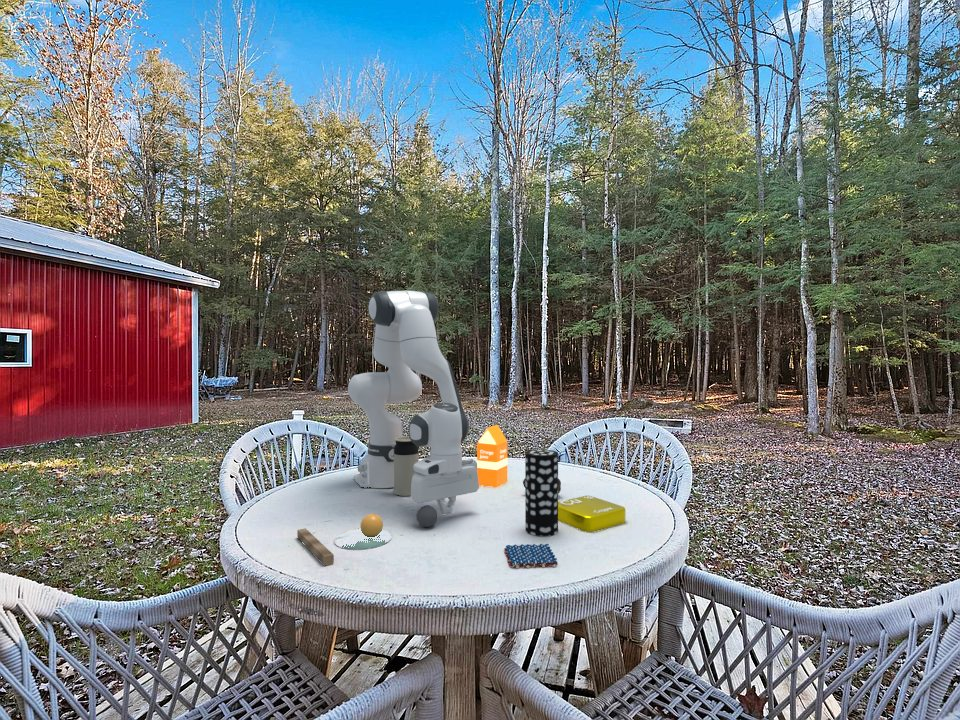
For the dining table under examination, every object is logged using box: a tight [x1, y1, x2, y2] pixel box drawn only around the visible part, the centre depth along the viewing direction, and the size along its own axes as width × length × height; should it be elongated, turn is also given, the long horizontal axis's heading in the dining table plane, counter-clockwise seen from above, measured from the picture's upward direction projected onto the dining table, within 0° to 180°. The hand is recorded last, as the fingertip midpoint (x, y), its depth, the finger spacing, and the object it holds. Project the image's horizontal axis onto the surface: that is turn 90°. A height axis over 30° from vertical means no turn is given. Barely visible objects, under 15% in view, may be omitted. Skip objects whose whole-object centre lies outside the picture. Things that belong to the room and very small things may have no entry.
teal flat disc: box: [341, 535, 388, 550], centre depth 121 cm, size 14×14×1 cm
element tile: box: [558, 495, 626, 533], centre depth 134 cm, size 15×15×5 cm
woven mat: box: [503, 543, 558, 570], centre depth 109 cm, size 10×11×2 cm
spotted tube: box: [524, 448, 559, 537], centre depth 126 cm, size 8×8×20 cm
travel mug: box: [393, 435, 420, 497], centre depth 160 cm, size 8×8×18 cm
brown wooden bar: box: [296, 528, 335, 567], centre depth 114 cm, size 20×2×2 cm, turn 36°
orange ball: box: [359, 513, 384, 537], centre depth 122 cm, size 6×6×6 cm
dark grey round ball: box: [416, 504, 439, 528], centre depth 129 cm, size 6×6×6 cm
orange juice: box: [476, 424, 508, 488], centre depth 172 cm, size 8×9×20 cm
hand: (446, 513), depth 135 cm, fingers closed
